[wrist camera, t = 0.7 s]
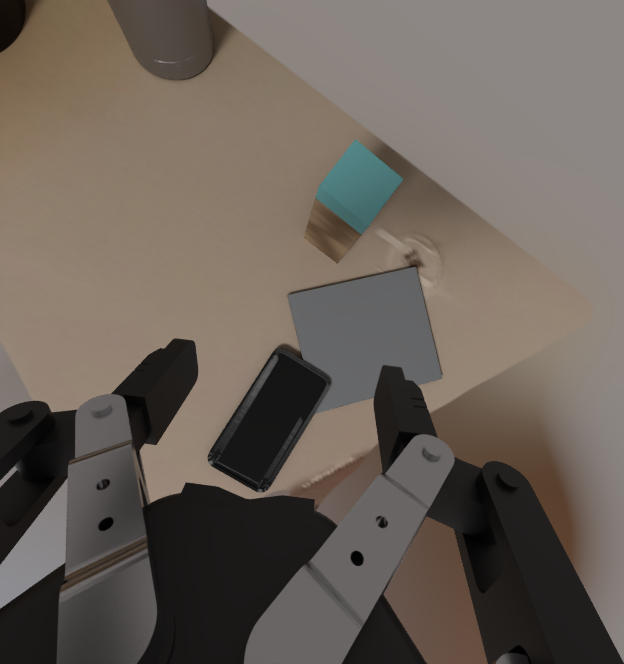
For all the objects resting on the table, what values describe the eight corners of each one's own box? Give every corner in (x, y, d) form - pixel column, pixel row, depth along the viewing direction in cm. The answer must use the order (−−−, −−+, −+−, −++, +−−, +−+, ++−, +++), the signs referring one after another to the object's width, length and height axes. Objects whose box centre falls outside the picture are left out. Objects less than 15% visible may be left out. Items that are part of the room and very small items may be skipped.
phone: (203, 461, 33) (277, 344, 34) (205, 457, 34) (277, 344, 35) (265, 496, 34) (335, 381, 35) (265, 491, 35) (333, 379, 36)
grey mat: (287, 295, 35) (287, 294, 35) (413, 267, 37) (415, 266, 37) (315, 412, 35) (316, 413, 35) (440, 377, 37) (442, 378, 37)
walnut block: (303, 237, 36) (318, 186, 24) (328, 205, 36) (355, 139, 24) (337, 263, 36) (368, 225, 24) (361, 231, 37) (403, 179, 25)
